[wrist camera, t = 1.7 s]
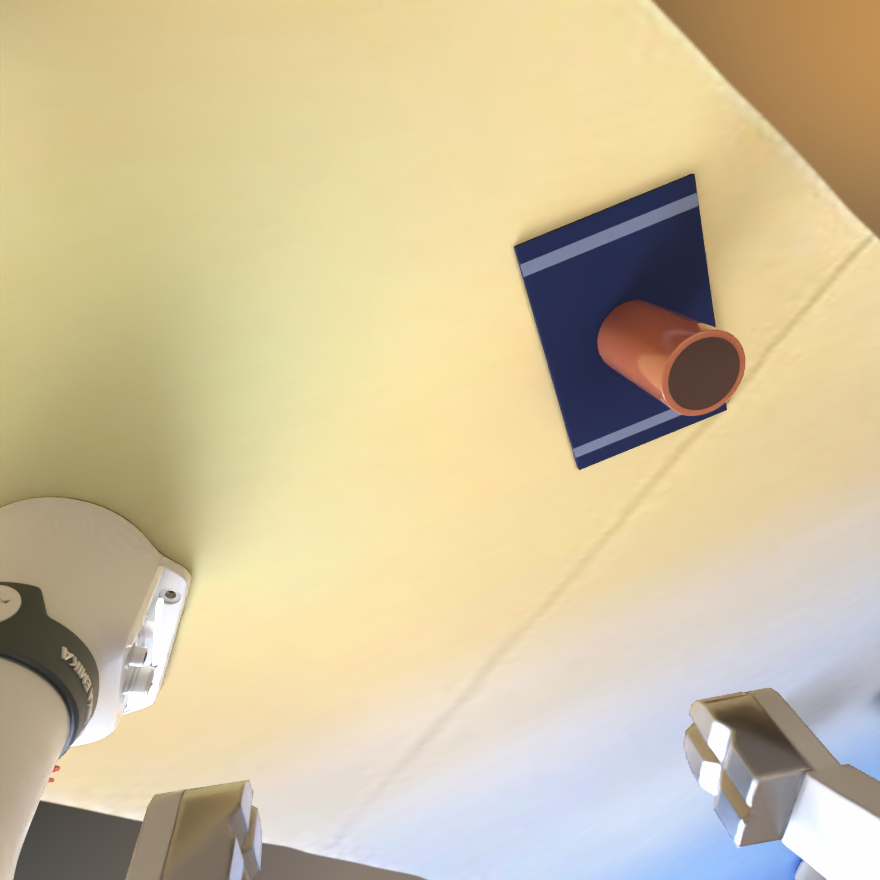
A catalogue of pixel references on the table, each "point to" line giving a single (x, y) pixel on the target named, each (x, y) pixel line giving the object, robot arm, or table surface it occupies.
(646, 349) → the tumbler
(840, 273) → the table surface
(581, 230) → the cloth
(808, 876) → the candelabra
